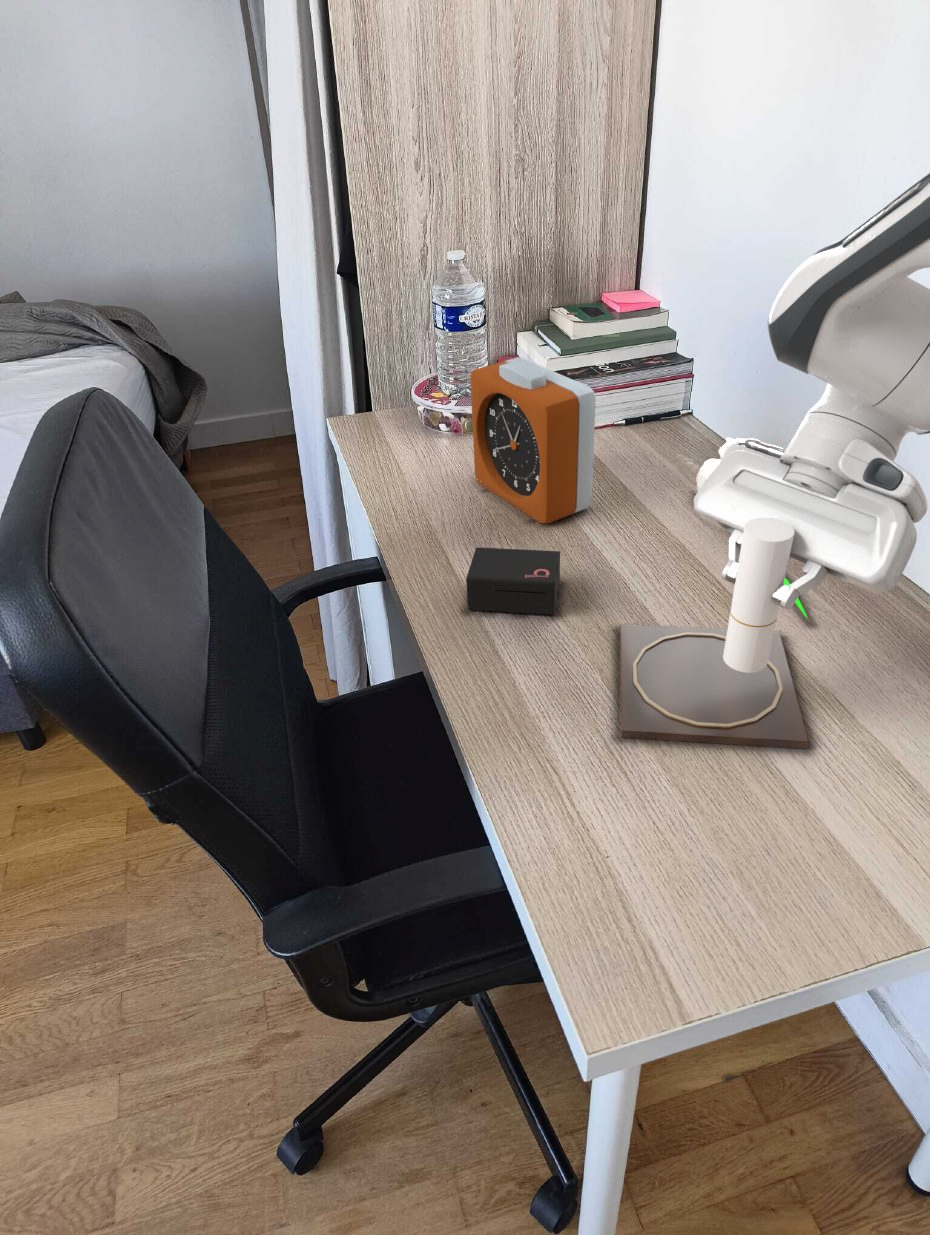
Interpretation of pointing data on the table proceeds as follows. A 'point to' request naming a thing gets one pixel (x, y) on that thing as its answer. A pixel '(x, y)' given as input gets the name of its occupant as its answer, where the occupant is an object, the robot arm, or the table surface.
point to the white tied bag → (714, 462)
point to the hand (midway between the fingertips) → (754, 593)
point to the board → (704, 690)
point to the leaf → (797, 599)
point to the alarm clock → (533, 438)
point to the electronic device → (513, 580)
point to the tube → (757, 593)
